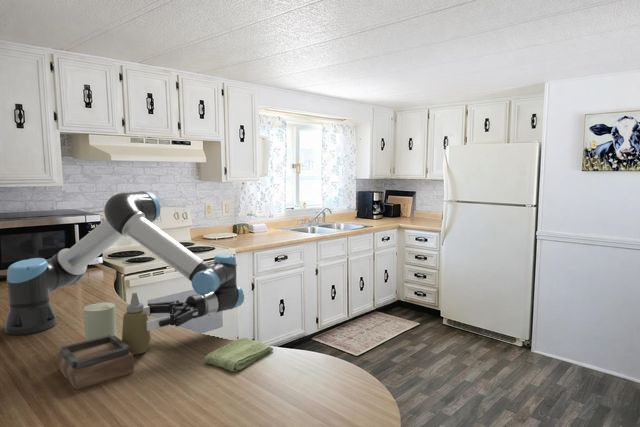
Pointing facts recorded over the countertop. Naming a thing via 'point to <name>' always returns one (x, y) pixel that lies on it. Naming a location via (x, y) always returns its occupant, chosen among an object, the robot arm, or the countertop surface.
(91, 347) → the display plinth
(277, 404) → the countertop surface
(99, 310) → the can
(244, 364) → the washcloth
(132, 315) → the squeeze bottle
